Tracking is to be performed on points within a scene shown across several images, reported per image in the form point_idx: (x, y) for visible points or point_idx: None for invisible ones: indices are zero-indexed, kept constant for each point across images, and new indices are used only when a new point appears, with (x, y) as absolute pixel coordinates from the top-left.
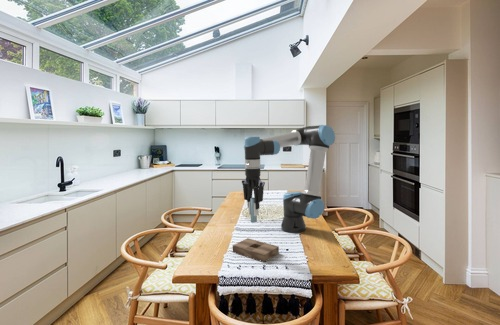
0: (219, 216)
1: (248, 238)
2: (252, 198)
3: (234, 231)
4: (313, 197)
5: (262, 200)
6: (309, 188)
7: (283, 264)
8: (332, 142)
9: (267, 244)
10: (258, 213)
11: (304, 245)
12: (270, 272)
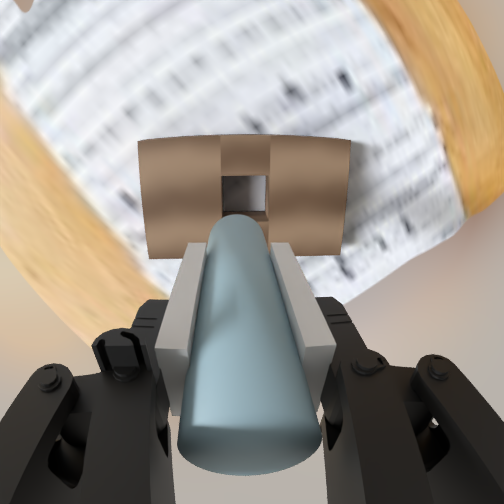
0: None
1: (143, 141)
2: (259, 467)
3: (7, 80)
4: None
5: (448, 367)
6: None
7: (392, 213)
8: None
9: (288, 147)
10: (291, 249)
11: (378, 14)
12: (376, 281)
